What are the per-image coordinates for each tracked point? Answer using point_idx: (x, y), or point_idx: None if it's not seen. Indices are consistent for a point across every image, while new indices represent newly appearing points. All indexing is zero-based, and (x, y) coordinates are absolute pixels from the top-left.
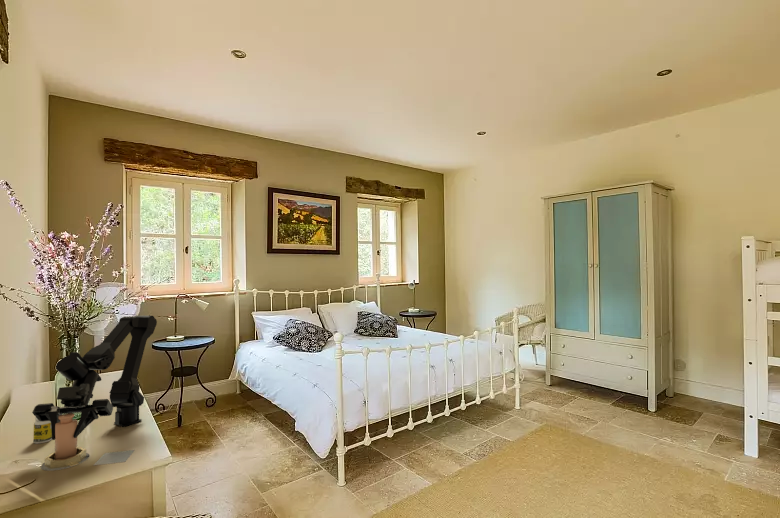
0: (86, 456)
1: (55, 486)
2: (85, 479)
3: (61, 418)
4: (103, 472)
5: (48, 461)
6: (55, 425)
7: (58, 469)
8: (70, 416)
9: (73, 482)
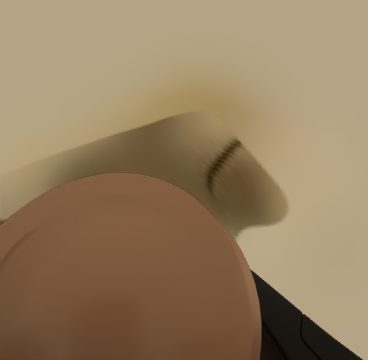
0: None
1: (138, 142)
2: (77, 158)
3: (150, 185)
4: (36, 185)
5: None
6: (226, 232)
7: None
8: (16, 218)
9: (103, 150)
